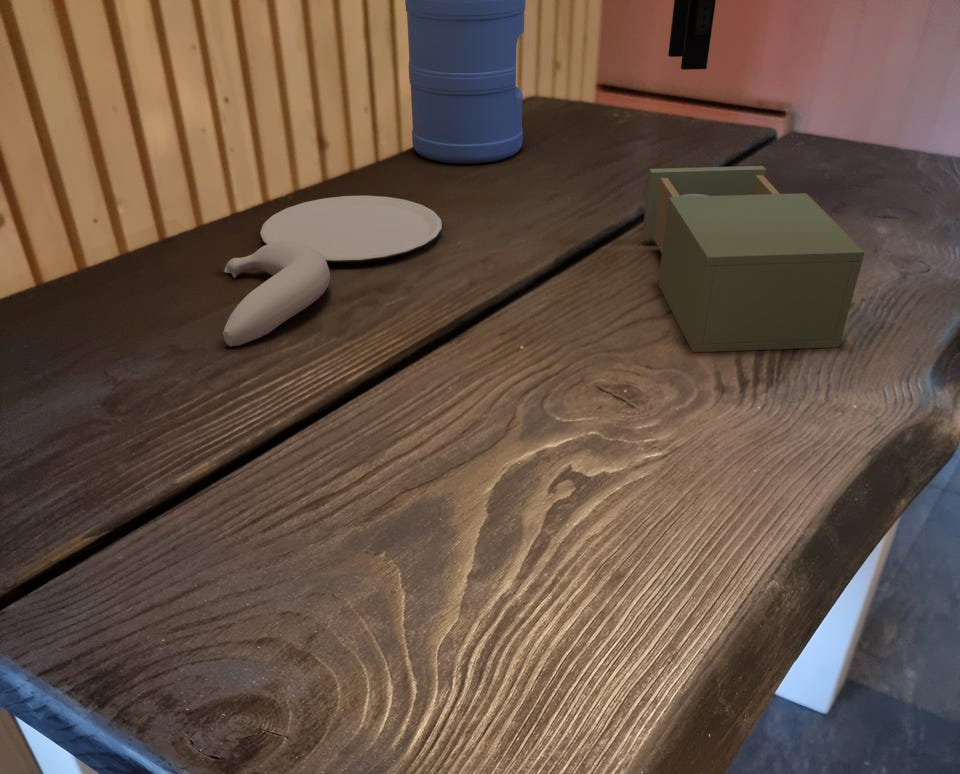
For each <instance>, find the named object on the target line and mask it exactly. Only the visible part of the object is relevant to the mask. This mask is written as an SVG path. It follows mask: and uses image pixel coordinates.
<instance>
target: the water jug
mask: <svg viewBox="0 0 960 774" xmlns="http://www.w3.org/2000/svg"><path fill="white" fill-rule="evenodd" d="M526 2H527V1H526V0H404V4H405V5H404V6H405V11H406V19H407V20H406V23H407V40H408V42H407V43H408V44H407V45H408V79H409V80H408V81H409V84H410V99H411V118H412V130H411V139H412V141H411V142H412V143H411V144H412V147H413V149H414V151H415V152H416V153H417V154H418V155H420V157H423V158H425V159H427V160H430V161H434V162H438V163H445V164H451V165H452V164H453V165H479V164H480V165H481V164H488V163H489V164H490V163H494V162H498V161H502V160H505V159H508V158H511V157H513V156H514V155H516V154H517V153H518V152H519V151H520V150H521V148H522V146H523V140H524V139H523V138H524V137H523V136H524V130H523V129H524V128H523V92H522V91H521V89H520V88H519V87H518V86H517V84H516V83H517V82H516V81H517V46H518V40H519V38H520V36H521V35H522V34H524V32H525V10H526Z"/></svg>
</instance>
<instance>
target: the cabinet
mask: <svg viewBox="0 0 960 774" xmlns="http://www.w3.org/2000/svg"><path fill="white" fill-rule="evenodd" d="M864 256H865V250H863V249H862V248H861V247H860V246H859V245H858V244H857V242H856V241H855V240H853V239H852V237H850V236H849V234H848V233H847V232H846V231H845V230H844V229H842V228H841V227H840V225H839V224H837V222H836V221H835V220H833V218H831V216H830V215H829V214H828V213H827V212H826V211H824V209H823V208H822V207H821V206H820V205H819V204H817V202H816V201H815V200H814V199H813V198H812V196H810V195H809V194H807V192H805V193H802V192H801V193H800V192H799V193H780V194H764V195H730V196H695V197H669V201H668V209H667V217H666V225H665V233H664V241H663V249H662V253H661V256H660V257H661V258H660V259H661V260H660V267H659V273H658V274H659V275H658V283H657V285H658V287H659V290H660V291H661V293H662V295H663V298H664V299H665V301H666V303H667V305H668V307H669V309H670V311H671V313H672V315H673V317H674V319H675V321H676V323H677V324H678V326H679V328H680V330H681V332H682V335H683V336H684V338H685V340H686V342H687V344H688V346H689V348H690V350H691V352H692V353H712V352H714V353H715V352H716V353H717V352H743V351H771V350H772V351H773V350H774V351H775V350H797V349H798V350H799V349H801V350H802V349H824V348H825V349H826V348H827V349H828V348H839V347H840V345H841V341H842V338H843V334H844V331H845V327H846V323H847V320H848V315H849V311H850V308H851V305H852V301H853V297H854V293H855V289H856V286H857V282H858V279H859V274H860V271H861V267H862V265H863V264H862V263H863V260H864Z"/></svg>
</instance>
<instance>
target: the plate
mask: <svg viewBox="0 0 960 774" xmlns="http://www.w3.org/2000/svg"><path fill="white" fill-rule="evenodd" d="M442 225H443V224H442V218H440V217H439V216H438V215H437V213H436V212H435V211H434V210H433V209H430V208H429V207H426V206H425V205H423V204H421V203H417V202H414V201H411V200H407V199H402V198H397V197H390V196H377V195H342V196H333V197H324V198H320V199H314V200H310V201H304V202H301V203H299V204H295V205H292V206H289V207H286V208H284V209H282V210H280V211H278V212H277V213H275V214H273V215H271V216H270V217H269V218H268V219H267V220H265V222H263V224H262V226H261V229H260V232H259V234H260V237H261V240H262V242H263V244H265V245H267V244H270V243H273V242H277V241H294V242H298V243H302V244H304V245H307V246H309V247H311V248H313V249H315V250H317V251H318V252H319V253H321V255H322V256H323V257H324V258H325V260H326V262H327V264H328V263H330V264H345V263H346V264H347V263H348V264H349V263H353V264H354V263H365V262H373V261H374V262H375V261H381V260H388V259H392V258H395V257H400V256H403V255H407V254H410V253H412V252H414V251H417V250H419V249H423V248H424V247H426V246H427V245H429V244H430V243H431V242H433V241H435V240H436V239H437V237H438V236H439V234H440V233H441V231H442V230H443V226H442Z"/></svg>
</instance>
